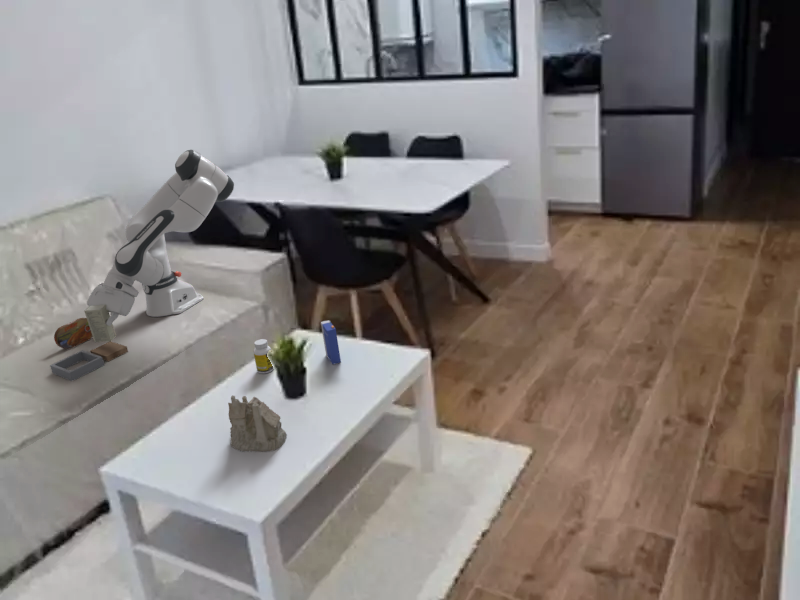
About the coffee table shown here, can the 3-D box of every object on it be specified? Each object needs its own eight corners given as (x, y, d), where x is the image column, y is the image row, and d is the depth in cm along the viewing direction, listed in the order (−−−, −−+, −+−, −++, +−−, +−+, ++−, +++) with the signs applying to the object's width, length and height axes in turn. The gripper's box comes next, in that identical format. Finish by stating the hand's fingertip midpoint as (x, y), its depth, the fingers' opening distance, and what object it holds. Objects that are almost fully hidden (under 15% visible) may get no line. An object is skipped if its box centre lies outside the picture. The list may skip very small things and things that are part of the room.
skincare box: (116, 336, 255) (107, 303, 251) (110, 341, 251) (101, 309, 247) (99, 337, 256) (89, 305, 251) (93, 343, 252) (83, 310, 247)
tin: (61, 352, 262) (54, 331, 259) (56, 351, 264) (49, 329, 260) (99, 335, 273) (92, 314, 269) (94, 334, 274) (88, 313, 271)
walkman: (341, 362, 231) (335, 327, 227) (332, 364, 231) (326, 329, 226) (334, 352, 238) (328, 318, 234) (325, 354, 238) (320, 320, 233)
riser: (111, 346, 262) (110, 341, 261) (128, 351, 256) (126, 346, 256) (91, 355, 256) (89, 350, 256) (108, 361, 251) (106, 356, 250)
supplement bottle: (271, 374, 229) (265, 345, 226) (254, 374, 231) (248, 346, 227) (277, 365, 234) (271, 337, 230) (261, 365, 235) (255, 338, 232)
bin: (84, 357, 256) (82, 350, 254) (104, 364, 249) (102, 356, 248) (52, 373, 247) (49, 365, 246) (72, 381, 240) (69, 372, 239)
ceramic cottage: (274, 454, 188) (263, 401, 184) (219, 450, 194) (207, 398, 189) (302, 424, 202) (292, 374, 197) (249, 421, 208) (239, 372, 203)
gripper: (92, 278, 258) (75, 315, 255) (127, 286, 246) (109, 324, 243) (107, 285, 263) (90, 321, 260) (142, 293, 251) (124, 331, 248)
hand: (100, 323), depth 251 cm, fingers closed on skincare box, 7 cm apart
